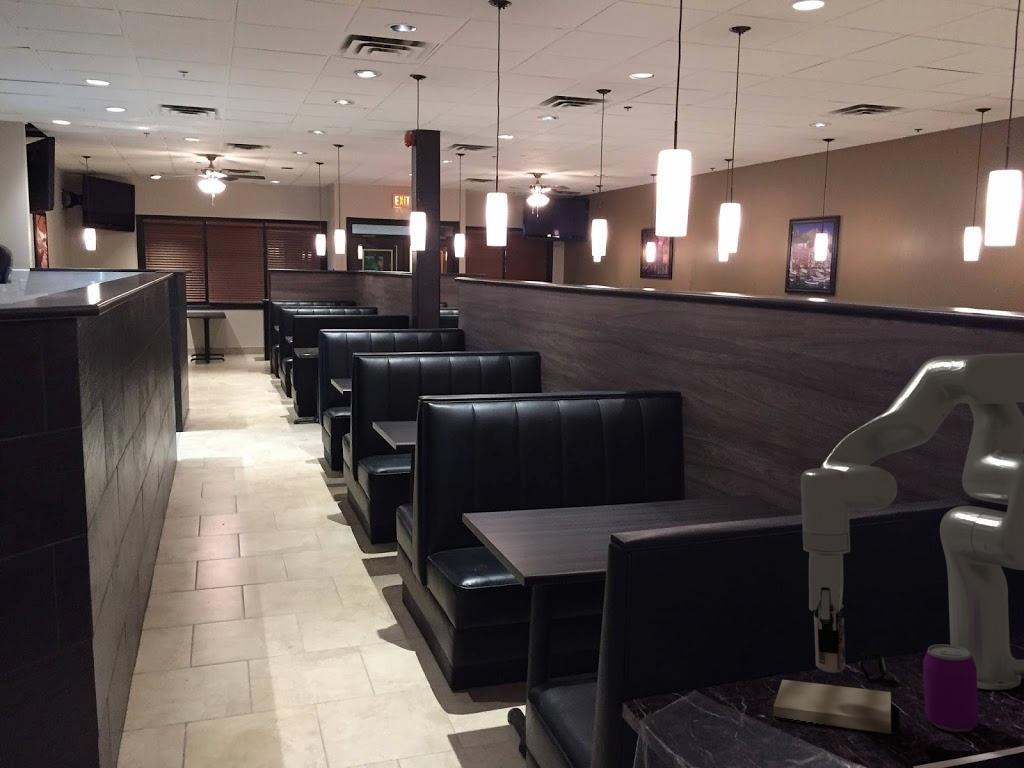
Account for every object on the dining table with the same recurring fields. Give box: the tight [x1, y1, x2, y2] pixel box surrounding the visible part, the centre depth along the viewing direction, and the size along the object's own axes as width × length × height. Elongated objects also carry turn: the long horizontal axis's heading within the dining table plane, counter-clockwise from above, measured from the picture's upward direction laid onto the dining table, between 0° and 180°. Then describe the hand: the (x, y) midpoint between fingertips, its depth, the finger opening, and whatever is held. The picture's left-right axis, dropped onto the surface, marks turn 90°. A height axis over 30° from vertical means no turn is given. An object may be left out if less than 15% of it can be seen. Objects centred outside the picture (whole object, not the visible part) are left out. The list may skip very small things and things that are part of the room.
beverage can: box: [922, 643, 979, 733], centre depth 131 cm, size 8×8×12 cm
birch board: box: [773, 679, 892, 735], centre depth 138 cm, size 18×12×2 cm, turn 65°
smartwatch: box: [857, 650, 888, 680], centre depth 151 cm, size 4×5×5 cm
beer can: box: [813, 602, 847, 674], centre depth 138 cm, size 5×5×12 cm
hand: (829, 645), depth 138 cm, fingers closed on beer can, 4 cm apart
